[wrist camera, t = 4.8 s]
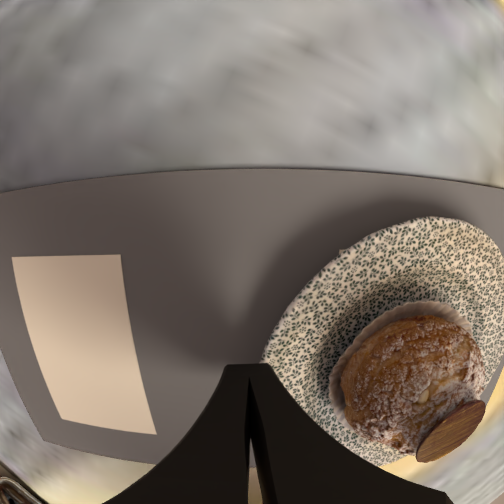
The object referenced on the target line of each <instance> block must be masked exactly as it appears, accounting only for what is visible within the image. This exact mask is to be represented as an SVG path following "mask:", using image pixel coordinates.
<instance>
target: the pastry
mask: <svg viewBox="0 0 504 504" xmlns="http://www.w3.org/2000/svg"><path fill="white" fill-rule="evenodd" d="M503 354H504V257H503V255H502V253H501V251H500V249H499V248H498V246H497V244H496V243H495V242H494V241H493V240H492V239H491V237H489V235H487V234H486V233H485V232H484V231H483V230H481V229H480V228H477V227H476V226H475V225H473V224H471V223H468V222H465V221H463V220H458V219H452V218H443V217H433V216H430V217H420V218H416V219H412V220H409V221H405V222H402V223H399V224H397V225H393V226H391V227H388V228H385V229H381V230H379V231H377V232H375V233H372V234H370V235H367V236H366V237H364V238H363V239H362V240H360V241H359V242H357V243H356V244H354V245H353V246H351V247H349V248H348V249H346V250H344V251H343V252H342V253H340V254H339V255H338V256H337V257H336V258H334V259H333V260H332V261H330V262H329V263H328V264H327V265H326V266H325V267H324V268H323V269H321V271H320V272H319V273H318V274H316V275H315V276H314V277H313V279H312V280H310V281H309V282H308V283H307V285H306V286H305V287H304V288H303V289H302V290H301V291H300V293H299V294H298V295H297V296H296V297H295V299H294V300H293V301H292V302H291V304H290V305H289V306H288V307H287V309H286V311H285V312H284V314H283V316H282V317H281V319H280V321H279V322H278V323H277V325H276V326H275V328H274V330H273V331H272V334H271V336H270V337H269V339H268V342H267V344H266V345H265V348H264V351H263V354H262V358H261V361H260V362H259V363H269V364H270V365H271V366H272V368H273V370H274V372H275V373H276V375H277V377H278V378H279V380H280V381H281V382H282V384H283V385H284V387H285V388H286V389H287V391H288V392H289V393H290V394H291V396H292V397H293V398H294V399H295V400H296V402H297V403H298V404H299V405H300V406H301V407H302V409H303V410H304V411H305V412H306V413H307V414H308V415H309V416H310V417H311V418H312V419H313V420H314V421H315V422H316V423H317V424H318V425H319V426H320V427H321V428H322V429H324V430H325V431H326V432H327V433H328V434H329V435H331V436H332V437H333V438H334V439H336V440H337V441H338V442H339V443H341V444H342V445H344V446H345V447H346V448H348V449H349V450H351V451H352V452H353V453H355V454H356V455H358V456H360V457H361V458H363V459H365V460H367V461H368V462H370V463H372V464H374V465H375V466H377V467H378V466H382V465H386V464H389V463H392V462H395V461H397V460H399V459H401V458H403V457H405V456H407V455H413V456H415V455H416V459H417V461H418V462H424V463H427V462H429V461H435V460H437V459H439V458H441V457H443V456H445V455H447V454H448V453H450V452H451V451H453V450H454V449H455V448H457V447H458V446H460V445H461V444H462V443H463V442H464V441H466V439H467V438H468V437H469V436H470V435H471V434H472V433H473V432H474V430H475V429H476V428H477V426H478V424H479V423H480V422H481V420H482V418H483V416H484V413H485V408H486V404H485V402H484V401H482V400H481V399H480V395H481V394H482V392H483V391H484V390H485V388H486V387H487V385H488V383H489V381H490V380H491V378H492V375H493V374H494V372H495V370H496V368H497V367H498V365H499V363H500V361H501V359H502V356H503Z"/></svg>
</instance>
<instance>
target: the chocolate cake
mask: <svg viewBox="0 0 504 504" xmlns="http://www.w3.org/2000/svg"><path fill="white" fill-rule="evenodd" d="M0 504H42V503H41V502H40V501H39V500H37V498H35V497H34V496H33V495H31V494H30V493H29V492H28V491H26V489H24V488H23V487H22V486H21V485H19V483H17V482H16V481H13V480H12V479H9V478H6V477H1V478H0Z"/></svg>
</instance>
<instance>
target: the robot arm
mask: <svg viewBox="0 0 504 504" xmlns="http://www.w3.org/2000/svg"><path fill="white" fill-rule="evenodd" d="M251 442H252V448H253V453H254V458H255V463H256V468H257V474H258V479H259V484H260V488H261V493H262V500H263V504H454V503H453V502H452V501H451V500H450V498H449V497H448V496H447V494H446V493H445V492H442V491H438V490H435V489H432V488H428V487H425V486H422V485H419V484H416V483H413V482H410V481H407V480H405V479H402V478H400V477H398V476H395V475H393V474H391V473H389V472H387V471H384V470H382V469H381V468H379V467H377V466H375V465H374V464H372V463H370V462H368V461H367V460H365V459H363V458H361V457H360V456H358V455H356V454H355V453H353V452H352V451H351V450H349V449H348V448H346V447H345V446H344V445H342V444H341V443H339V442H338V441H337V440H336V439H334V438H333V437H332V436H331V435H329V434H328V433H327V432H326V431H325V430H324V429H322V428H321V427H320V426H319V425H318V424H317V423H316V422H315V421H314V420H313V419H312V418H311V417H310V416H309V415H308V414H307V413H306V412H305V411H304V410H303V409H302V407H301V406H300V405H299V404H298V403H297V402H296V400H295V399H294V398H293V397H292V396H291V394H290V393H289V392H288V391H287V389H286V388H285V387H284V385H283V384H282V382H281V381H280V380H279V378H278V377H277V375H276V373H275V372H274V370H273V368H272V366H271V365H270V364H269V363H254V364H227V365H226V366H225V367H224V370H223V373H222V376H221V378H220V380H219V383H218V385H217V387H216V389H215V391H214V393H213V394H212V396H211V398H210V400H209V401H208V403H207V405H206V406H205V408H204V410H203V411H202V413H201V414H200V415H199V417H198V418H197V420H196V421H195V423H194V424H193V425H192V427H191V428H190V429H189V431H188V432H187V433H186V435H185V436H184V437H183V438H182V439H181V440H180V442H179V443H178V444H177V445H176V446H175V447H174V448H173V449H172V450H171V451H170V452H169V453H168V454H167V455H166V456H165V457H164V458H163V459H162V460H161V461H160V462H159V463H158V464H157V465H156V466H155V467H154V468H153V469H151V470H150V471H149V472H148V473H147V474H146V475H144V476H143V477H142V478H140V479H139V480H138V481H136V482H135V483H133V484H132V485H131V486H129V487H128V488H127V489H125V490H124V491H122V492H121V493H119V494H118V495H116V496H115V497H113V498H111V499H110V500H108V501H106V502H104V503H102V504H248V484H249V464H250V443H251Z"/></svg>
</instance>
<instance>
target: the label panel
mask: <svg viewBox="0 0 504 504" xmlns="http://www.w3.org/2000/svg"><path fill="white" fill-rule="evenodd" d="M430 216H433V217H443V218H452V219H458V220H463V221H465V222H468V223H471V224H473V225H475V226H476V227H477V228H480V229H481V230H483V231H484V232H485V233H486V234H487V235H489V237H491V239H492V240H493V241H494V242H495V243H496V244H497V246H498V248H499V249H500V251H501V253H502V255H503V257H504V189H499V188H493V187H487V186H481V185H475V184H468V183H462V182H455V181H447V180H440V179H431V178H423V177H414V176H404V175H393V174H381V173H368V172H353V171H335V170H309V169H217V170H191V171H172V172H157V173H144V174H132V175H121V176H111V177H102V178H93V179H85V180H77V181H69V182H62V183H55V184H49V185H42V186H36V187H30V188H25V189H19V190H14V191H8V192H3V193H0V348H1V350H2V353H3V356H4V359H5V361H6V364H7V366H8V369H9V371H10V374H11V376H12V379H13V381H14V383H15V386H16V388H17V390H18V392H19V395H20V397H21V399H22V401H23V403H24V405H25V407H26V409H27V411H28V413H29V415H30V417H31V419H32V421H33V423H34V425H35V426H36V428H37V430H38V432H39V434H40V435H41V437H42V439H43V440H44V441H47V442H50V443H53V444H57V445H60V446H64V447H67V448H71V449H75V450H79V451H83V452H87V453H92V454H96V455H101V456H106V457H111V458H117V459H122V460H128V461H135V462H142V463H150V464H158V463H159V462H160V461H161V460H162V459H163V458H164V457H165V456H166V455H167V454H168V453H169V452H170V451H171V450H172V449H173V448H174V447H175V446H176V445H177V444H178V443H179V442H180V440H181V439H182V438H183V437H184V436H185V435H186V433H187V432H188V431H189V429H190V428H191V427H192V425H193V424H194V423H195V421H196V420H197V418H198V417H199V415H200V414H201V413H202V411H203V410H204V408H205V406H206V405H207V403H208V401H209V400H210V398H211V396H212V394H213V393H214V391H215V389H216V387H217V385H218V383H219V380H220V378H221V376H222V373H223V370H224V367H225V366H226V365H227V364H254V363H259V362H260V361H261V358H262V354H263V351H264V348H265V345H266V344H267V342H268V339H269V337H270V336H271V334H272V331H273V330H274V328H275V326H276V325H277V323H278V322H279V321H280V319H281V317H282V316H283V314H284V312H285V311H286V309H287V307H288V306H289V305H290V304H291V302H292V301H293V300H294V299H295V297H296V296H297V295H298V294H299V293H300V291H301V290H302V289H303V288H304V287H305V286H306V285H307V283H308V282H309V281H310V280H312V279H313V277H314V276H315V275H316V274H318V273H319V272H320V271H321V269H323V268H324V267H325V266H326V265H327V264H328V263H329V262H330V261H332V260H333V259H334V258H336V257H337V256H338V255H339V254H340V253H342V252H343V251H344V250H346V249H348V248H349V247H351V246H353V245H354V244H356V243H357V242H359V241H360V240H362V239H363V238H364V237H366V236H367V235H370V234H372V233H375V232H377V231H379V230H381V229H385V228H388V227H391V226H393V225H397V224H399V223H402V222H405V221H409V220H412V219H416V218H420V217H430ZM503 366H504V354H503V356H502V359H501V361H500V363H499V365H498V367H497V368H496V370H495V372H494V374H493V375H492V378H491V380H490V381H489V383H488V385H487V387H486V388H485V390H484V391H483V392H482V394H481V395H480V399H481V400H482V401H484V402H485V404H486V405H487V403H488V401H489V399H490V397H491V395H492V393H493V390H494V388H495V386H496V383H497V381H498V379H499V376H500V374H501V371H502V369H503ZM250 467H256V463H255V458H254V453H253V448H252V442H251V443H250V464H249V468H250Z"/></svg>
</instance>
